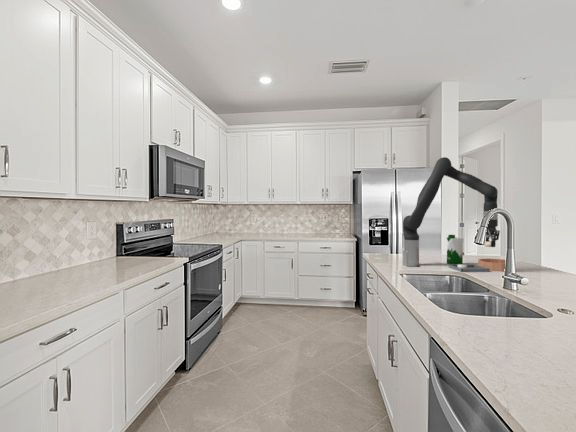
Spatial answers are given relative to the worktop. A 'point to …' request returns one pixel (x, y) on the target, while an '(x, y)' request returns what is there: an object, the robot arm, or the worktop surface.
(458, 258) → the milk carton
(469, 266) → the tray
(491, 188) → the robot arm
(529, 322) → the worktop surface
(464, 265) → the white pebble
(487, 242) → the sandstone pebble
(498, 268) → the bowl
